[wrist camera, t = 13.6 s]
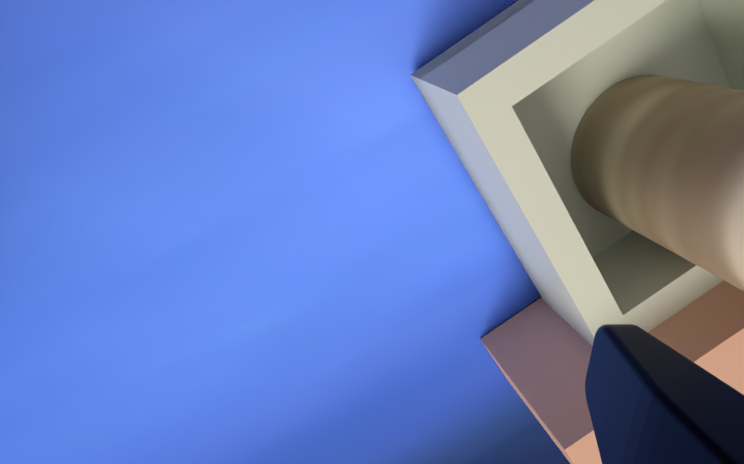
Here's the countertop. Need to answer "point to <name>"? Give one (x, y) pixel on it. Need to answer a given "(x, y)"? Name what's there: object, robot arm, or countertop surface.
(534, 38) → the cradle
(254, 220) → the countertop surface
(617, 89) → the dowel
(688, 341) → the backstop wall
